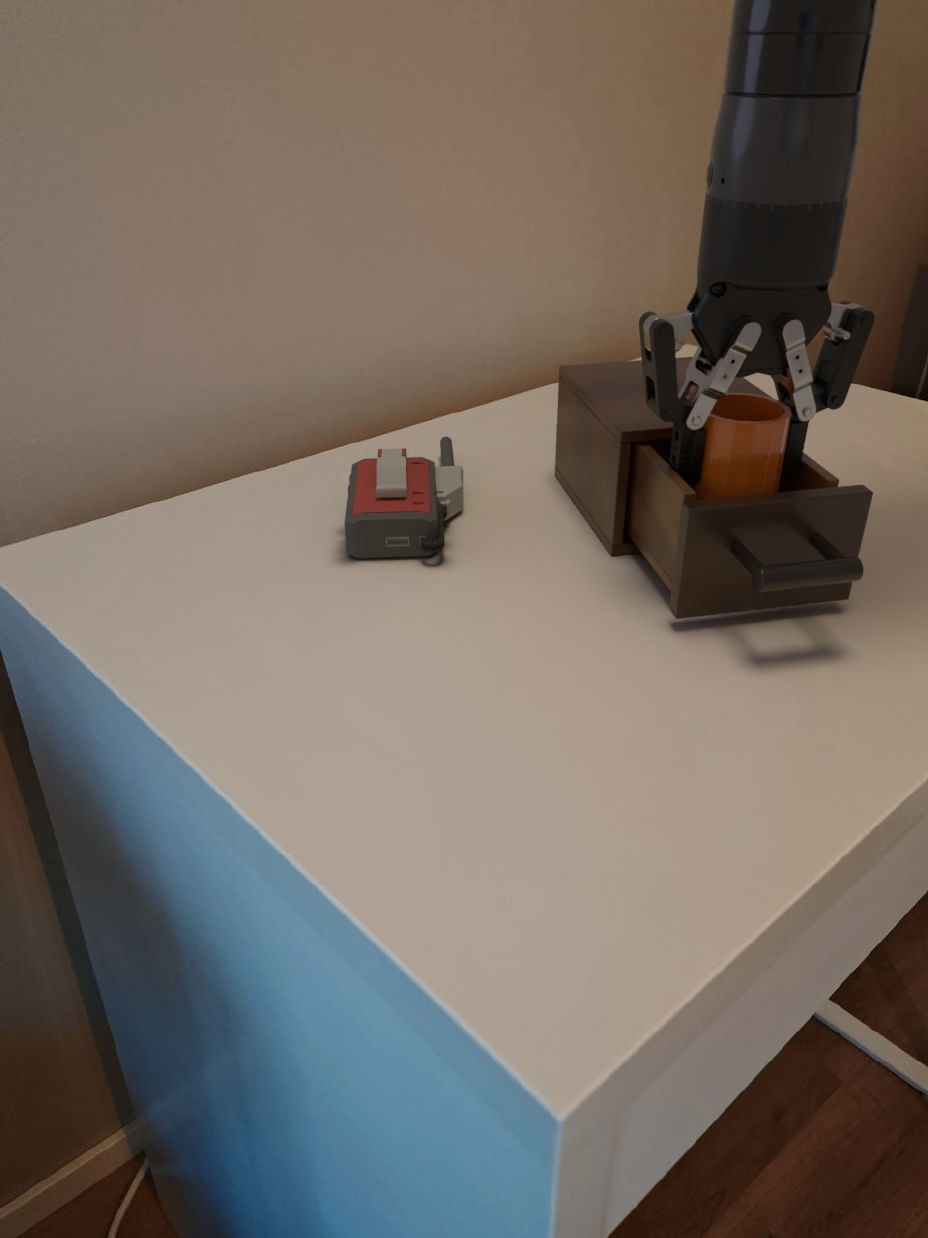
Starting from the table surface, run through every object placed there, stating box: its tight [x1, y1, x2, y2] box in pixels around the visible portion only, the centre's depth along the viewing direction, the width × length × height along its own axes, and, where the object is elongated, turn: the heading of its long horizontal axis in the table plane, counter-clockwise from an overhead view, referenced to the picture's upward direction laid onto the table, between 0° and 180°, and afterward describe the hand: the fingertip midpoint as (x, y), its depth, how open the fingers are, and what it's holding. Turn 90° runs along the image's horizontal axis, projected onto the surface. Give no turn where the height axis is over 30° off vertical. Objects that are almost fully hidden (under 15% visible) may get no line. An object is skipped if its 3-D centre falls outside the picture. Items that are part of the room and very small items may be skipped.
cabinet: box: [554, 356, 775, 557], centre depth 72 cm, size 15×13×9 cm
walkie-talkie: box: [343, 436, 464, 559], centre depth 73 cm, size 9×4×20 cm
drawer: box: [624, 439, 874, 620], centre depth 61 cm, size 18×11×7 cm, turn 11°
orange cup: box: [689, 393, 792, 500], centre depth 60 cm, size 6×6×6 cm
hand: (733, 475), depth 61 cm, fingers closed on orange cup, 5 cm apart
